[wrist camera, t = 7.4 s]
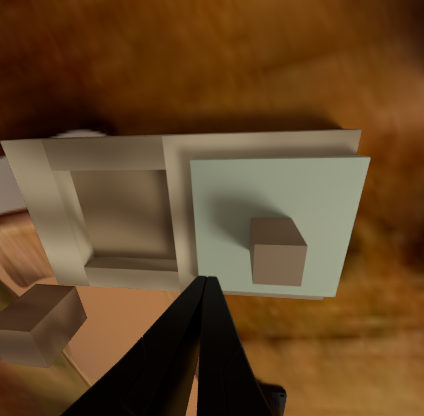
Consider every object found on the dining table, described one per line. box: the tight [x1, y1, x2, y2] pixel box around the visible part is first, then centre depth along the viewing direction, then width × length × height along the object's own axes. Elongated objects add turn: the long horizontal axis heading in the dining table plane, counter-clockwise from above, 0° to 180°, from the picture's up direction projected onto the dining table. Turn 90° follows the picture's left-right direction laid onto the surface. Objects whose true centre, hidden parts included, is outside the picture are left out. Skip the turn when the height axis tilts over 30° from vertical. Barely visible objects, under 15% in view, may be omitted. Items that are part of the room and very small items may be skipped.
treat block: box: [0, 284, 87, 368], centre depth 20 cm, size 4×4×5 cm
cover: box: [190, 155, 371, 297], centre depth 12 cm, size 9×9×4 cm
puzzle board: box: [0, 129, 362, 300], centre depth 15 cm, size 12×22×2 cm, turn 92°
